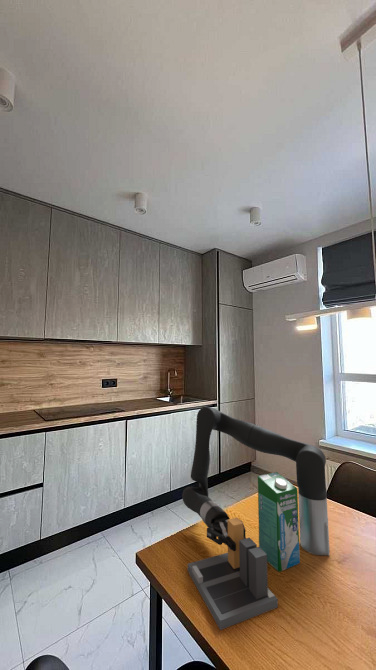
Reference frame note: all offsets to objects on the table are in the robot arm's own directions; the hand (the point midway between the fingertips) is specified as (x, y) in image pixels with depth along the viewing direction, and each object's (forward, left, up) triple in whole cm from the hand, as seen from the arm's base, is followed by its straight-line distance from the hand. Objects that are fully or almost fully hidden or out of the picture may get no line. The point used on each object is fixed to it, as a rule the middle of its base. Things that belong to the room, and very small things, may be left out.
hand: (240, 545), depth 82 cm
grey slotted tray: (+2, +5, -9) cm, 10 cm away
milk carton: (-9, -14, -9) cm, 19 cm away
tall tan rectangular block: (+2, -2, -6) cm, 7 cm away
